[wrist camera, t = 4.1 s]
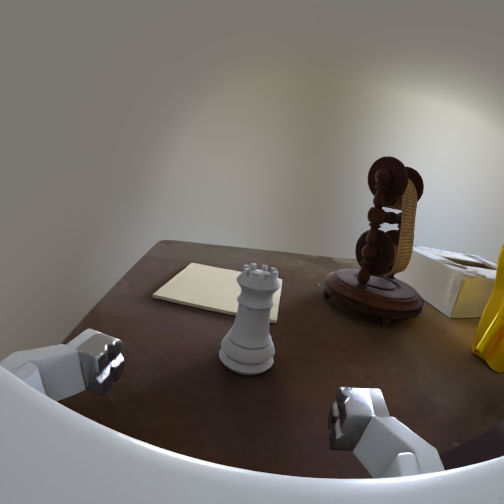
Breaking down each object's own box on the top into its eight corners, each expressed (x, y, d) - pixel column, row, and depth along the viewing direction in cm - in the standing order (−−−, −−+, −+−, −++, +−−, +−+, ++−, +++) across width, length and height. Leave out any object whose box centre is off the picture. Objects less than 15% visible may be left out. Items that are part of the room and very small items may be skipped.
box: (451, 322, 36) (532, 314, 40) (467, 272, 34) (543, 280, 38) (380, 275, 58) (471, 282, 62) (388, 239, 56) (478, 254, 61)
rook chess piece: (257, 385, 20) (276, 285, 18) (207, 362, 22) (217, 266, 20) (281, 359, 24) (300, 270, 22) (236, 341, 26) (248, 256, 24)
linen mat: (152, 297, 32) (152, 294, 32) (191, 265, 46) (192, 262, 45) (276, 323, 31) (276, 320, 31) (282, 281, 44) (282, 279, 44)
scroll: (394, 341, 29) (437, 157, 24) (299, 295, 40) (325, 144, 35) (430, 312, 38) (460, 181, 34) (354, 281, 49) (376, 166, 44)
